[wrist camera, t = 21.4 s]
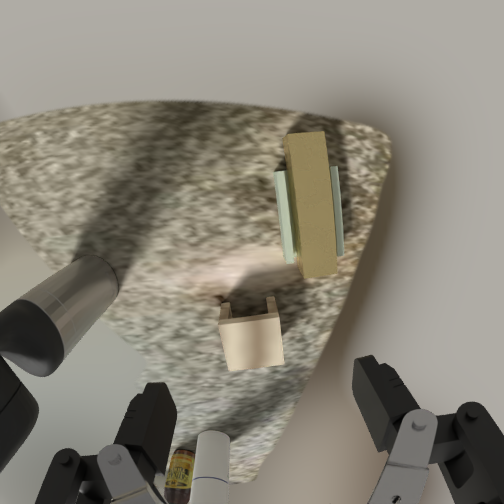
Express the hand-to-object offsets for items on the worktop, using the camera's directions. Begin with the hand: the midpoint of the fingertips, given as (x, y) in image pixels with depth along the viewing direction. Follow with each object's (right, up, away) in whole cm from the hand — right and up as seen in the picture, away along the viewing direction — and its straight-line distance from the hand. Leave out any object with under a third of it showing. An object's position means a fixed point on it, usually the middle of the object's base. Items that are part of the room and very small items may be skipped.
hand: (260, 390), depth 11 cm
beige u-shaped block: (0, -5, +33) cm, 33 cm away
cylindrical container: (-9, -36, +41) cm, 55 cm away
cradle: (+7, +11, +28) cm, 31 cm away
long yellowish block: (+7, +12, +25) cm, 28 cm away
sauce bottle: (-17, -43, +43) cm, 64 cm away
